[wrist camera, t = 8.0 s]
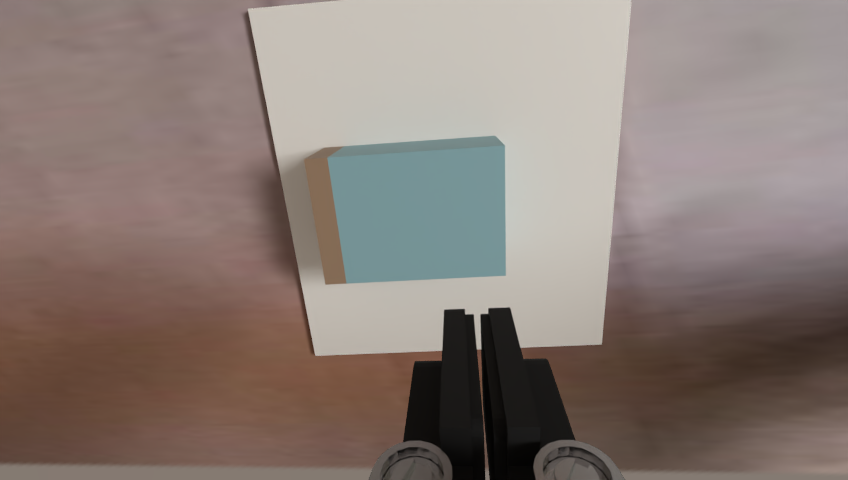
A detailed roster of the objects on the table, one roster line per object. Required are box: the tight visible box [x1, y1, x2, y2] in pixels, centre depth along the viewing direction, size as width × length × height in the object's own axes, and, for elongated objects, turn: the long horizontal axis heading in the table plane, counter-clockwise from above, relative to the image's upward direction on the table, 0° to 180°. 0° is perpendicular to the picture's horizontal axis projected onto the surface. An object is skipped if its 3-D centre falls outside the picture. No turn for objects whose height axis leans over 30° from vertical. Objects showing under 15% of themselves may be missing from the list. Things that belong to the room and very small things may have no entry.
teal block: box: [304, 136, 506, 285], centre depth 24 cm, size 4×7×10 cm
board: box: [248, 0, 631, 356], centre depth 26 cm, size 20×22×1 cm
